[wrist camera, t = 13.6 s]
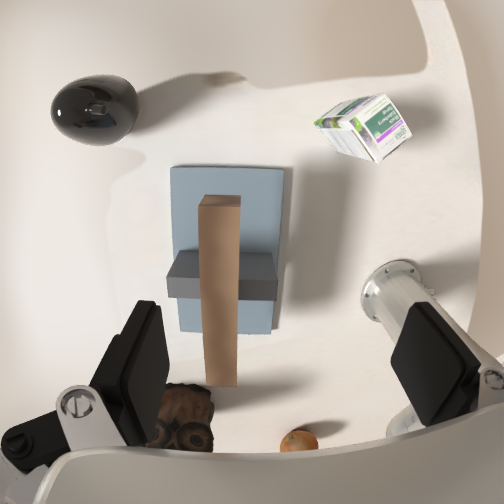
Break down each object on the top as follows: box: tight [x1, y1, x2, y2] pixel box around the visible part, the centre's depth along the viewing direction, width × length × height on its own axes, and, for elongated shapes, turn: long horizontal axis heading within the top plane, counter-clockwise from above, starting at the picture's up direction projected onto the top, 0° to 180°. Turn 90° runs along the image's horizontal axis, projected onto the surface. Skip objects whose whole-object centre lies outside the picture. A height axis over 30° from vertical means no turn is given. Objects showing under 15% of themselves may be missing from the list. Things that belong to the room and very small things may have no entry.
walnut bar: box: [198, 195, 241, 387], centre depth 34 cm, size 4×24×6 cm, turn 177°
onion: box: [280, 430, 318, 452], centre depth 62 cm, size 10×10×10 cm
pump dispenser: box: [51, 75, 138, 146], centre depth 30 cm, size 10×10×15 cm
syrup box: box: [314, 93, 413, 163], centre depth 32 cm, size 6×6×14 cm
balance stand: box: [166, 167, 284, 334], centre depth 42 cm, size 16×28×10 cm, turn 178°
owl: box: [146, 383, 215, 453], centre depth 49 cm, size 13×13×20 cm
